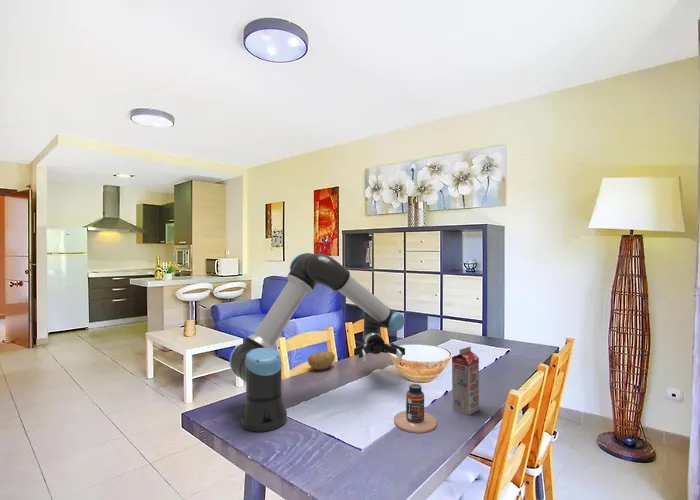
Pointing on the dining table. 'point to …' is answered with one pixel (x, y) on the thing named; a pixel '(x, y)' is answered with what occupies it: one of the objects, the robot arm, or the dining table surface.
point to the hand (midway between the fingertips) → (382, 357)
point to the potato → (321, 360)
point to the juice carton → (465, 382)
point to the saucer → (421, 427)
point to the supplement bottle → (415, 404)
